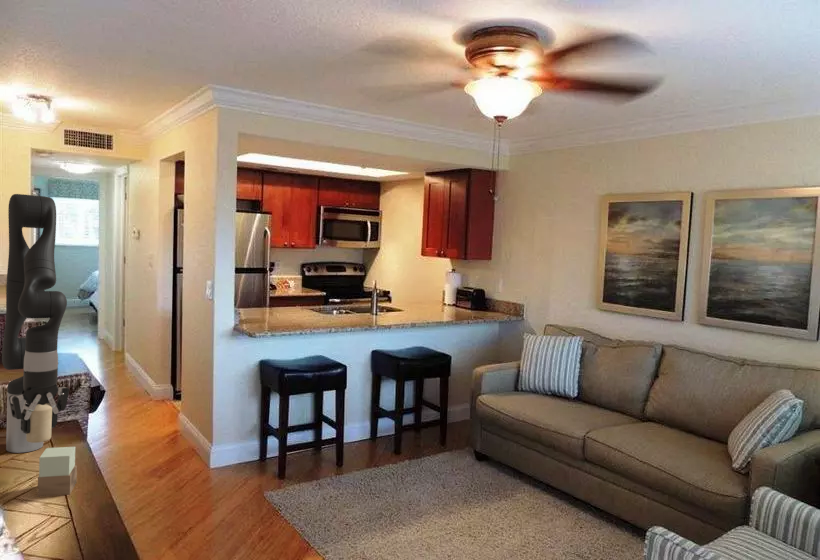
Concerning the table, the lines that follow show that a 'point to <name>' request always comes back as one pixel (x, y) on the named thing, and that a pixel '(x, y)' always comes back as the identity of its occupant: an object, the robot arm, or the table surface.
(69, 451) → the top block
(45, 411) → the candle
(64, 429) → the table surface
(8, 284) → the robot arm
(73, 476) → the base block
